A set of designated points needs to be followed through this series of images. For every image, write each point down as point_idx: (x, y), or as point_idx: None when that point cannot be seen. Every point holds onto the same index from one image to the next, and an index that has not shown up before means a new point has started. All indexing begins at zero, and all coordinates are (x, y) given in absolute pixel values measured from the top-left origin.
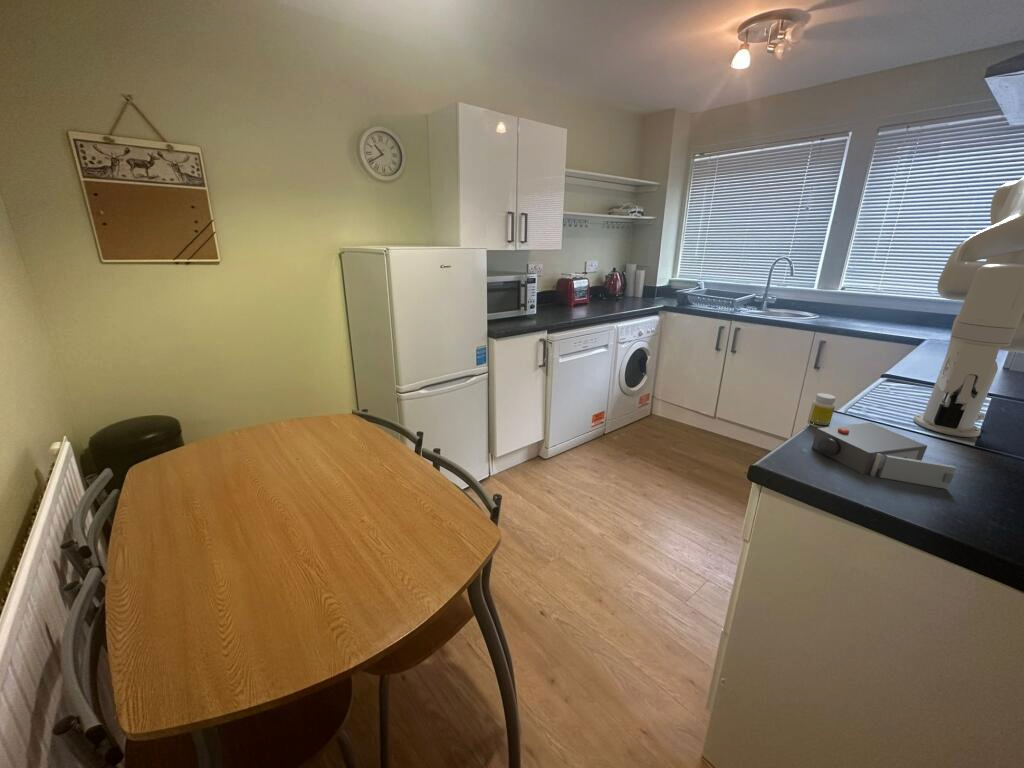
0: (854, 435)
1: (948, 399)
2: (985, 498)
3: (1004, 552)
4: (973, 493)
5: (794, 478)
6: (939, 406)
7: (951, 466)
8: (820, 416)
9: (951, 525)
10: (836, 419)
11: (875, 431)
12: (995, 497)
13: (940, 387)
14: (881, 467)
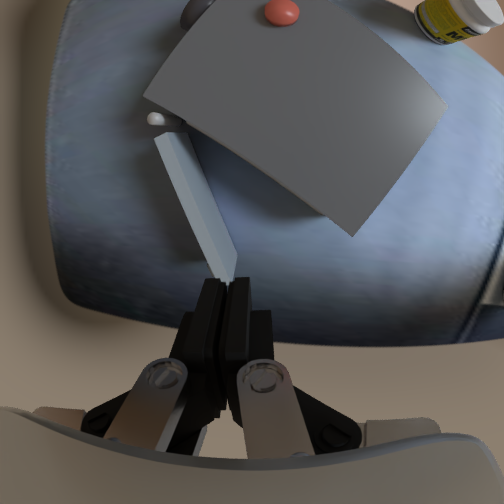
0: (277, 40)
1: (123, 410)
2: None
3: (73, 297)
4: None
5: (62, 36)
6: (235, 338)
7: (221, 279)
8: (431, 6)
9: (82, 252)
10: (493, 79)
11: (379, 103)
12: None
13: (72, 452)
14: (179, 132)
